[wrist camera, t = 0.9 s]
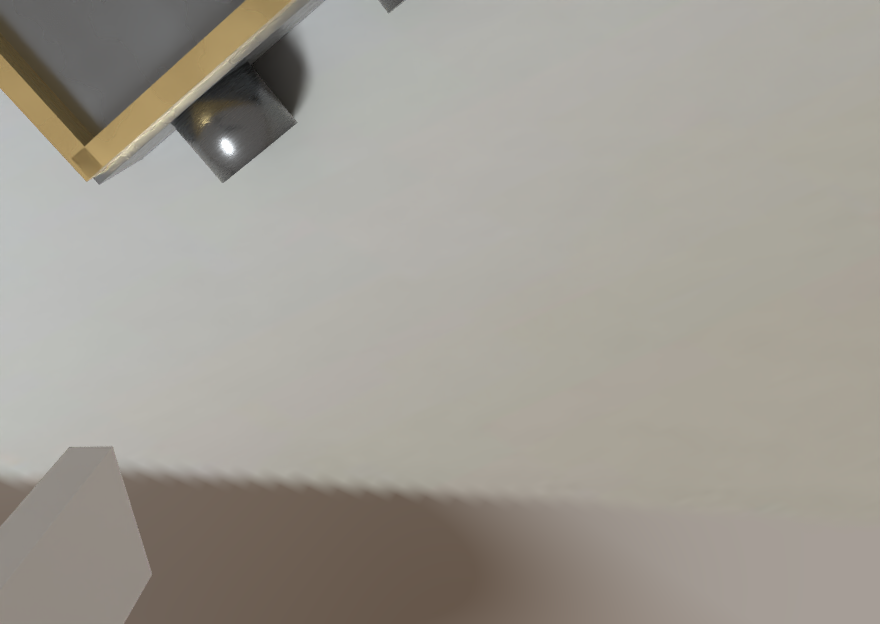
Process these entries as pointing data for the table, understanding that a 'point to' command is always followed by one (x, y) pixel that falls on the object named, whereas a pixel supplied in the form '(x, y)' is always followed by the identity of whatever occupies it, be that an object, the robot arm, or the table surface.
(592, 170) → the table surface
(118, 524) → the robot arm
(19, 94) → the grey flat box
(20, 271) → the table surface
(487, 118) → the table surface
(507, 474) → the table surface
